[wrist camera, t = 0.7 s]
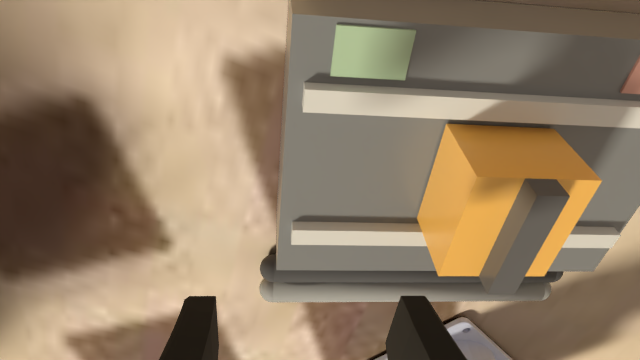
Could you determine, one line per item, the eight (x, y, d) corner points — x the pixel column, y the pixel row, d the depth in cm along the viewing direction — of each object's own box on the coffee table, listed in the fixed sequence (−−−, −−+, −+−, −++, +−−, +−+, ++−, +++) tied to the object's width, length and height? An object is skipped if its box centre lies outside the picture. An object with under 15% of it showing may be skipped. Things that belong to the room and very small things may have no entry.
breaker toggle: (554, 128, 16) (617, 197, 13) (510, 219, 19) (554, 294, 16) (446, 123, 16) (487, 194, 13) (416, 217, 18) (445, 294, 15)
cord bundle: (559, 251, 25) (572, 270, 24) (538, 286, 27) (549, 306, 26) (260, 248, 23) (260, 269, 22) (259, 286, 25) (259, 307, 24)
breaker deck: (684, 17, 17) (762, 54, 14) (561, 227, 24) (599, 279, 21) (289, -16, 15) (292, 19, 13) (276, 222, 22) (276, 279, 19)
